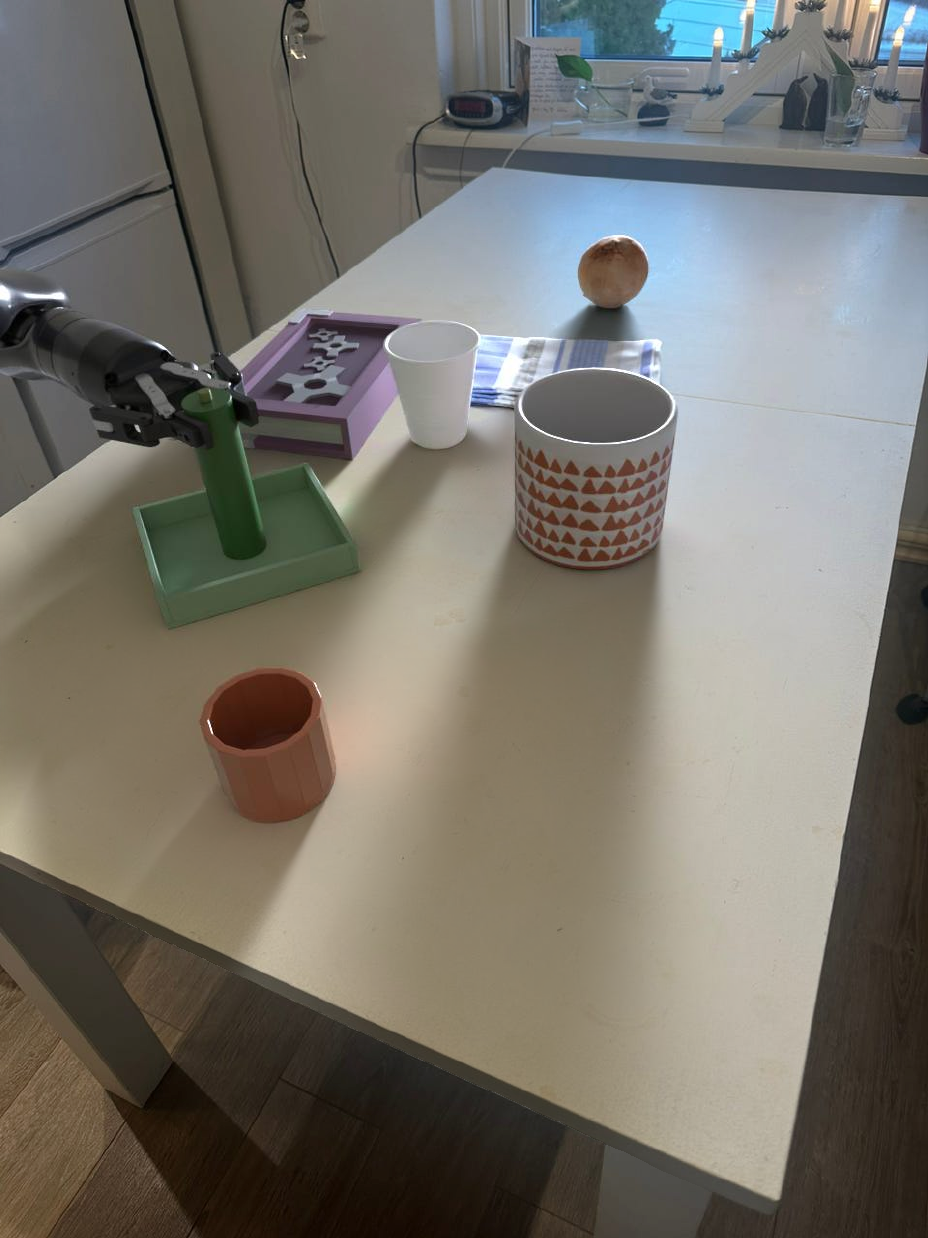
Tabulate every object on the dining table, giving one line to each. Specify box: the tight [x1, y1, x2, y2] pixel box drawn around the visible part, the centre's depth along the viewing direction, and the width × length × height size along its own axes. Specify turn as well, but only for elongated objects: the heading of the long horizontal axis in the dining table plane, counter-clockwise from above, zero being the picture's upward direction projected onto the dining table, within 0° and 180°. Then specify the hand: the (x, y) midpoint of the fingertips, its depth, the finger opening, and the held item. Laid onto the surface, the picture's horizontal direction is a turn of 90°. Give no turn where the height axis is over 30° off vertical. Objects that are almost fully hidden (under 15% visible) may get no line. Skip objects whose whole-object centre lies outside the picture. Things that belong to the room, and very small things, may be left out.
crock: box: [199, 666, 337, 824], centre depth 59 cm, size 8×8×7 cm
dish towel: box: [470, 334, 663, 409], centre depth 103 cm, size 17×24×3 cm
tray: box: [131, 462, 361, 630], centre depth 80 cm, size 17×15×3 cm
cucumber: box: [181, 388, 267, 560], centre depth 76 cm, size 4×4×16 cm
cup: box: [383, 320, 481, 450], centre depth 92 cm, size 10×10×11 cm
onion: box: [577, 234, 650, 309], centre depth 117 cm, size 10×9×10 cm
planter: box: [513, 368, 679, 571], centre depth 78 cm, size 14×14×13 cm
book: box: [237, 308, 423, 460], centre depth 102 cm, size 25×16×5 cm, turn 164°
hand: (231, 426), depth 70 cm, fingers closed on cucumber, 4 cm apart
